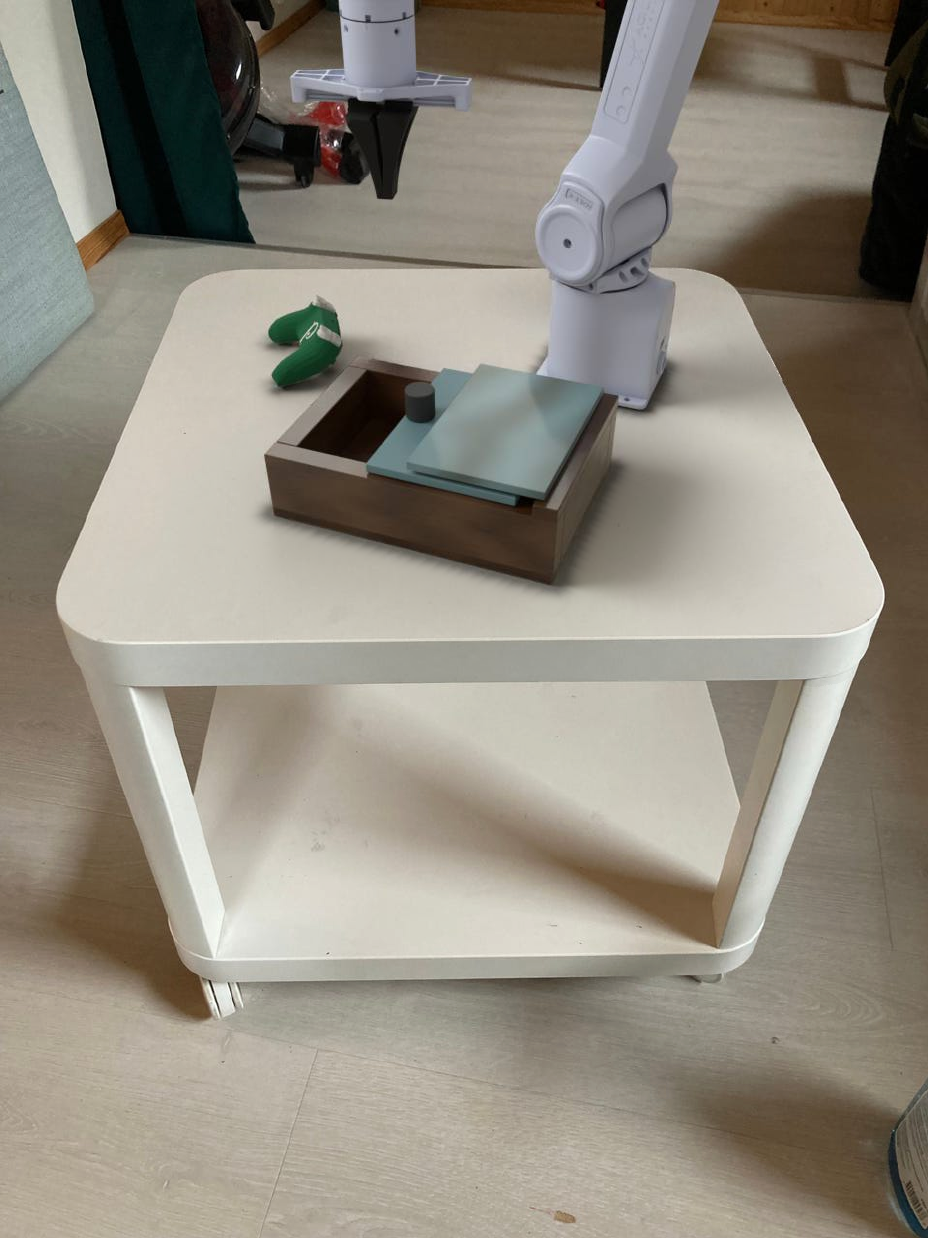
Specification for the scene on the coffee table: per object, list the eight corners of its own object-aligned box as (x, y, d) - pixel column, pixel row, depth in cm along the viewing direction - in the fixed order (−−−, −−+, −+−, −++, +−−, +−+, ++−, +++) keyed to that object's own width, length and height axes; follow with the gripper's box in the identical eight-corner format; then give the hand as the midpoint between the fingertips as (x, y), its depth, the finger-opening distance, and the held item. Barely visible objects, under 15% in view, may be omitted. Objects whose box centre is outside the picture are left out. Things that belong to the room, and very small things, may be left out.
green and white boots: (305, 408, 80) (353, 357, 78) (267, 382, 78) (316, 328, 76) (298, 354, 87) (342, 305, 85) (263, 328, 85) (308, 277, 82)
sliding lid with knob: (576, 401, 68) (579, 367, 66) (515, 506, 59) (516, 470, 58) (443, 374, 71) (443, 341, 69) (366, 471, 62) (363, 436, 60)
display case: (610, 466, 71) (620, 386, 67) (552, 585, 62) (558, 501, 57) (362, 413, 77) (355, 335, 72) (273, 515, 67) (259, 433, 63)
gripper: (270, 22, 73) (292, 207, 83) (461, 30, 71) (462, 218, 81) (297, 1, 78) (315, 177, 88) (476, 8, 76) (475, 187, 86)
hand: (387, 195), depth 85 cm, fingers closed
